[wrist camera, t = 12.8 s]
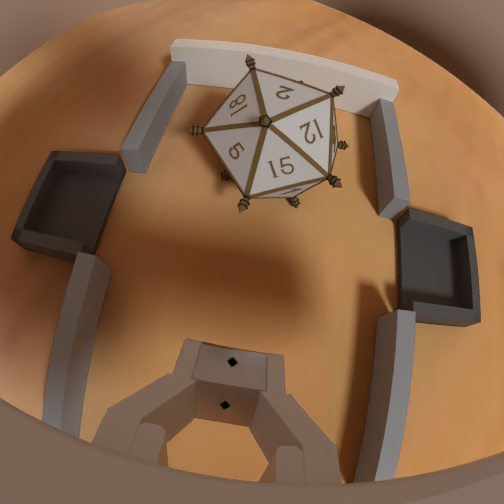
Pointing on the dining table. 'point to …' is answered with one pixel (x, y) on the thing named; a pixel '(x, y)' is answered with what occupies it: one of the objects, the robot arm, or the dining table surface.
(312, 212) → the dining table surface
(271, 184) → the game die
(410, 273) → the trap lane
